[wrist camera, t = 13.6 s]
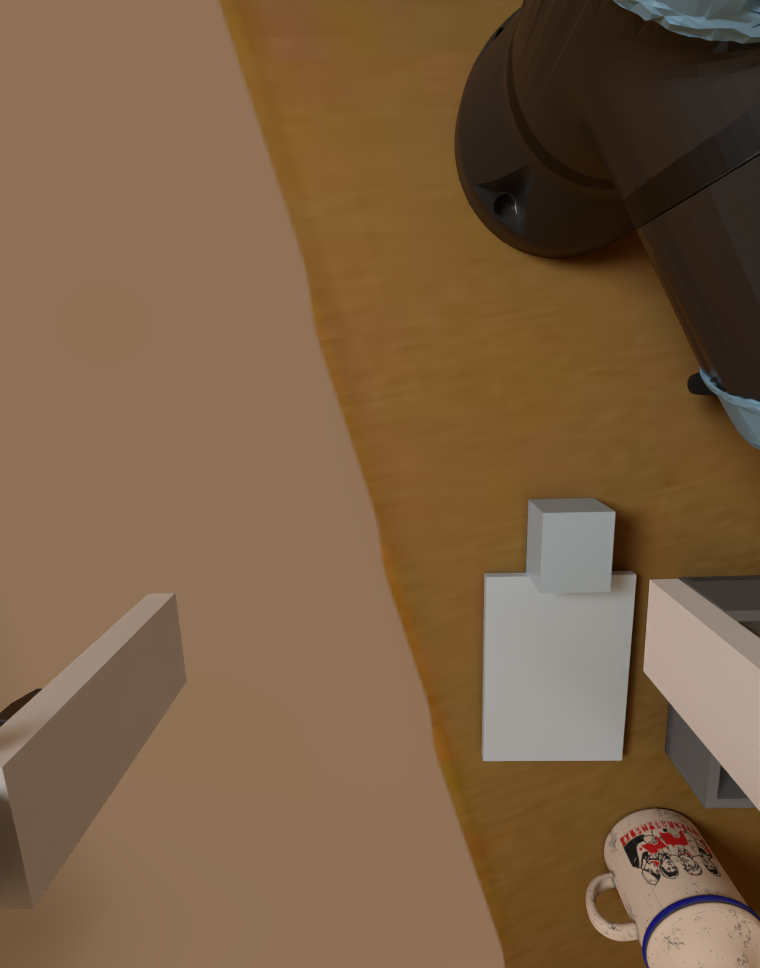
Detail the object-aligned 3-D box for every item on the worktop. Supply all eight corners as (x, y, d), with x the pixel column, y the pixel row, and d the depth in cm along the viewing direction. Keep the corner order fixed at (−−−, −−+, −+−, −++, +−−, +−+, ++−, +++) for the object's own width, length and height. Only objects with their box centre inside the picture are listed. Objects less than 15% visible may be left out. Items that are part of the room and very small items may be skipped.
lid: (483, 497, 41) (495, 514, 37) (632, 494, 41) (663, 510, 36) (480, 747, 46) (490, 790, 41) (614, 747, 46) (639, 789, 41)
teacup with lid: (700, 797, 46) (799, 936, 35) (704, 881, 48) (800, 1040, 37) (562, 813, 47) (616, 955, 35) (572, 895, 49) (626, 1055, 37)
